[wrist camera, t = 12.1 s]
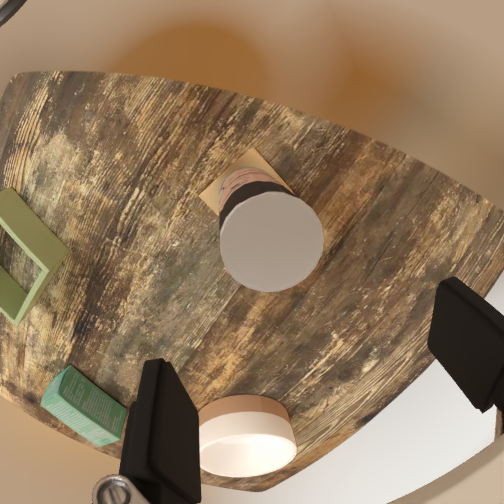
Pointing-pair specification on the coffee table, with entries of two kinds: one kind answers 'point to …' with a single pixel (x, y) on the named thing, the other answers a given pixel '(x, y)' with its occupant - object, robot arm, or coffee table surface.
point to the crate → (35, 246)
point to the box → (84, 407)
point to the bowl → (245, 436)
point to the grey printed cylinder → (266, 232)
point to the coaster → (246, 160)
